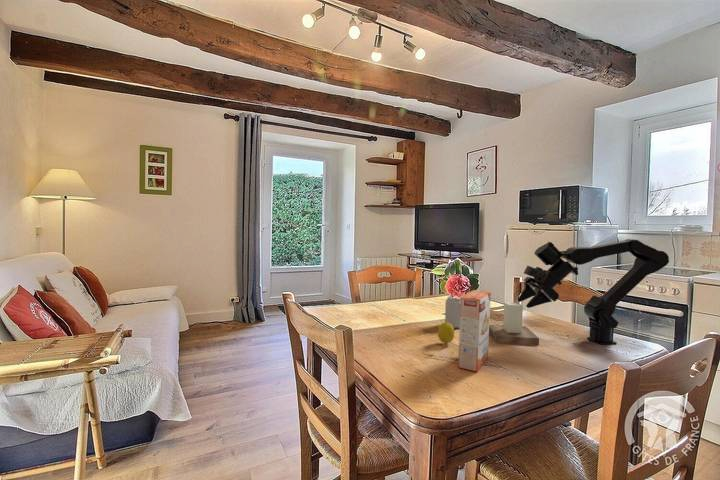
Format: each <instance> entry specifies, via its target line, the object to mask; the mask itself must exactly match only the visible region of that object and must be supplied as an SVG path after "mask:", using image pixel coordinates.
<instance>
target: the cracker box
mask: <svg viewBox="0 0 720 480" xmlns="http://www.w3.org/2000/svg"><path fill="white" fill-rule="evenodd" d="M491 295H492V293H491V291H487V290H477V289H473V290H471V291H469V292H468V293H466V294H464V295H462V296H460V297H461V307H460V328H459V337H458V338H459V340H458V341H459V342H458V361H457V362H458V364H457V365H458V366H457V367H458V368H459V369H463V370H467V371H471V372H476V373H478V372H479V370H480V369H481V367H482V366H483V364H484V363H485V362H486V360H487V359H488V358H489V342H490V339H489V338H490V333H489V325H490V318H491V317H490V316H491V299H492V298H491V297H492V296H491Z"/></svg>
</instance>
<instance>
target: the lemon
mask: <svg viewBox="0 0 720 480" xmlns="http://www.w3.org/2000/svg"><path fill="white" fill-rule="evenodd" d="M437 336H438V338H439V340H440V341H441V342H442V343H443V344H444V345H448V344H449V343H451V342H453V340H454V338H455V328H453V326H452V325H451V324H450V323H448V322H447V321H446V322H445V321H444V322H442V323H441V324H439V326H438V330H437Z"/></svg>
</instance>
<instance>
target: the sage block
mask: <svg viewBox="0 0 720 480" xmlns="http://www.w3.org/2000/svg"><path fill="white" fill-rule="evenodd" d="M523 312H524V305H522V304H521V303H520V302H514V301H513V302H510V301H509V302H508V301H507V302H506V301H504V302H503V321H502V322H503V329H504V330H505V331H506V332H508V333H522V326H523Z"/></svg>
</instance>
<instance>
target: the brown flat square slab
mask: <svg viewBox="0 0 720 480" xmlns="http://www.w3.org/2000/svg"><path fill="white" fill-rule="evenodd" d="M489 335H491V337H492V339H493V340H494V341H495V343H497V344H512V345H529V346H532V345H533V346H540V337H538V336H537V335H536V334H535V333H534V332H533V331H532V330H531V329H530V328H528V326H526V325H522V333H508V332H506V331H505V330H504V329H503V325H502V324H489Z"/></svg>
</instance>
